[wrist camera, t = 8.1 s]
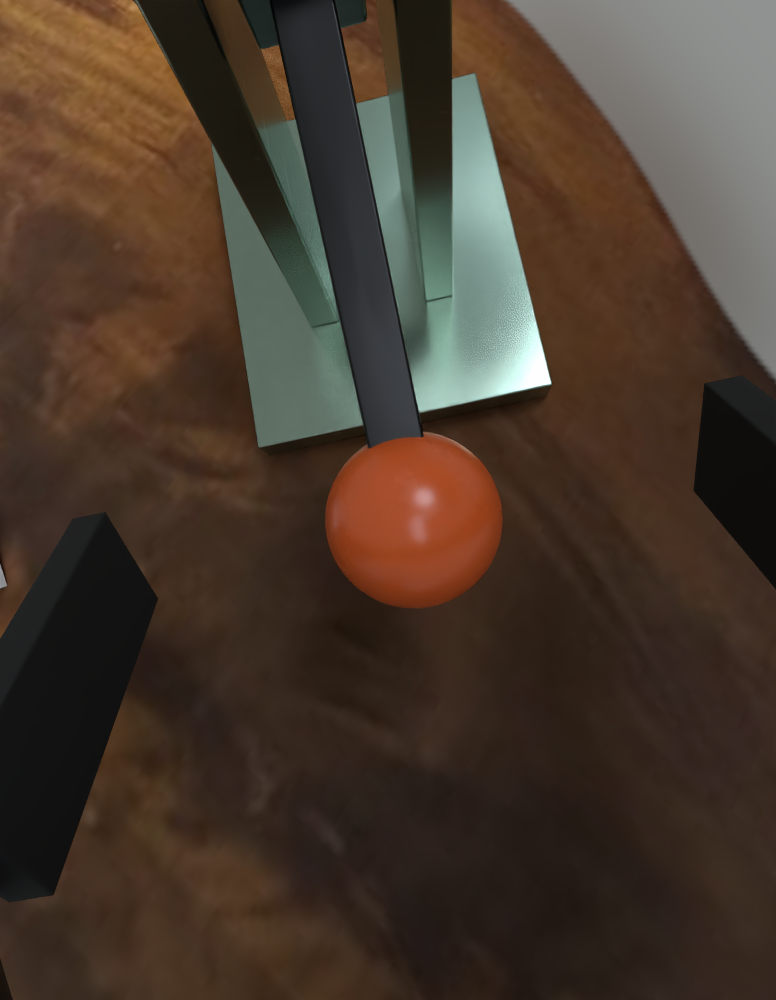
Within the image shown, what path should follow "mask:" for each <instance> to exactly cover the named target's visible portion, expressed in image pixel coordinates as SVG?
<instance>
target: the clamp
mask: <svg viewBox="0 0 776 1000" xmlns="http://www.w3.org/2000/svg"><path fill="white" fill-rule="evenodd" d="M133 1H134V2H135V3H136V4H137V6H138V8H139V10H140V11H141V13H142V15H143V17H144V19H145V21H146V22H147V24H148V26H149V28H150V30H151V32H152V34H153V35H154V37H155V39H156V41H157V43H158V45H159V47H160V48H161V50H162V52H163V54H164V56H165V58H166V59H167V61H168V63H169V65H170V67H171V69H172V71H173V72H174V74H175V76H176V78H177V80H178V82H179V83H180V85H181V87H182V89H183V91H184V93H185V95H186V96H187V98H188V100H189V102H190V104H191V106H192V108H193V109H194V111H195V113H196V115H197V117H198V119H199V120H200V122H201V124H202V126H203V128H204V130H205V132H206V133H207V135H208V137H209V139H210V141H211V146H212V153H213V159H214V166H215V172H216V178H217V185H218V191H219V198H220V204H221V211H222V217H223V224H224V230H225V236H226V243H227V249H228V256H229V262H230V269H231V275H232V282H233V288H234V294H235V301H236V307H237V314H238V320H239V327H240V333H241V340H242V346H243V352H244V359H245V365H246V372H247V378H248V385H249V391H250V398H251V404H252V410H253V417H254V423H255V430H256V436H257V443H258V447H259V448H260V449H261V450H262V451H264V452H265V453H266V454H268V455H273V454H278V453H283V452H287V451H292V450H297V449H301V448H306V447H311V446H315V445H320V444H325V443H329V442H334V441H339V440H344V439H348V438H353V437H358V436H362V435H365V431H364V427H363V422H362V418H361V413H360V409H359V404H358V400H357V395H356V391H355V386H354V382H353V377H352V373H351V368H350V364H349V359H348V355H347V350H346V346H345V341H344V337H343V332H342V328H341V323H340V318H339V314H338V309H337V305H336V300H335V296H334V291H333V287H332V282H331V278H330V273H329V269H328V264H327V260H326V255H325V251H324V246H323V242H322V237H321V233H320V228H319V224H318V219H317V215H316V210H315V206H314V201H313V196H312V192H311V187H310V183H309V178H308V174H307V169H306V165H305V160H304V156H303V151H302V147H301V142H300V138H299V133H298V129H297V124H296V120H295V119H293V120H289V121H286V118H285V115H284V113H283V110H282V107H281V104H280V101H279V99H278V96H277V93H276V90H275V88H274V85H273V82H272V79H271V76H270V74H269V71H268V68H267V65H266V62H265V60H264V57H263V54H262V51H261V48H260V47H259V46H258V44H257V42H256V40H255V38H254V35H253V33H252V31H251V29H250V27H249V24H248V22H247V20H246V18H245V16H244V13H243V11H242V9H241V7H240V5H239V2H238V0H133ZM375 1H376V8H377V16H378V23H379V31H380V38H381V45H382V53H383V60H384V68H385V75H386V83H387V90H388V95H386V96H382V97H379V98H375V99H371V100H367V101H363V102H359V103H356V105H357V110H358V115H359V120H360V125H361V130H362V135H363V140H364V145H365V150H366V154H367V159H368V164H369V169H370V174H371V179H372V184H373V189H374V194H375V199H376V204H377V208H378V213H379V218H380V223H381V228H382V233H383V238H384V243H385V248H386V253H387V258H388V262H389V267H390V272H391V277H392V282H393V287H394V292H395V297H396V302H397V307H398V311H399V316H400V321H401V326H402V331H403V336H404V341H405V346H406V351H407V356H408V361H409V365H410V370H411V375H412V380H413V385H414V390H415V395H416V400H417V405H418V410H419V415H420V419H421V423H423V422H428V421H433V420H437V419H442V418H447V417H451V416H456V415H461V414H465V413H470V412H475V411H480V410H484V409H489V408H494V407H498V406H503V405H508V404H512V403H517V402H522V401H526V400H531V399H536V398H540V397H545V396H547V395H548V393H549V391H550V389H551V386H552V380H551V376H550V372H549V368H548V364H547V359H546V355H545V351H544V347H543V343H542V339H541V335H540V331H539V327H538V323H537V319H536V315H535V311H534V307H533V302H532V298H531V294H530V290H529V286H528V282H527V278H526V274H525V270H524V266H523V262H522V258H521V254H520V250H519V246H518V241H517V237H516V233H515V229H514V225H513V221H512V217H511V213H510V209H509V205H508V201H507V197H506V193H505V189H504V185H503V180H502V176H501V172H500V168H499V164H498V160H497V156H496V152H495V148H494V144H493V140H492V136H491V132H490V128H489V124H488V119H487V115H486V111H485V107H484V103H483V99H482V95H481V91H480V87H479V83H478V79H477V75H476V73H472V74H468V75H464V76H460V77H456V78H452V0H375Z"/></svg>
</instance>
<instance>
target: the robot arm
mask: <svg viewBox="0 0 776 1000" xmlns="http://www.w3.org/2000/svg"><path fill="white" fill-rule="evenodd" d="M694 492H695V493H696V494H697V495H698V496H699V498H700V499H701V500H702V501H703V502H704V504H705V505H706V506H707V507H708V508H709V510H710V511H711V512H712V513H713V514H714V516H715V517H716V518H717V519H718V520H719V522H720V523H721V524H722V525H723V526H724V528H725V529H726V530H727V531H728V532H729V534H730V535H731V536H732V537H733V538H734V540H735V541H736V542H737V543H738V544H739V546H740V547H741V548H742V549H743V550H744V552H745V553H746V554H747V555H748V556H749V558H750V559H751V560H752V561H753V562H754V564H755V565H756V566H757V567H758V568H759V570H760V571H761V572H762V573H763V574H764V576H765V577H766V578H767V579H768V580H769V582H770V583H771V584H772V585H773V586H774V587H775V589H776V401H775V400H774V399H773V398H771V397H770V396H769V395H767V394H766V393H765V392H763V391H762V390H761V389H760V388H758V387H757V386H756V385H754V384H753V383H752V382H750V381H749V380H748V379H746V378H745V377H744V376H743V375H742V376H738V377H733V378H728V379H724V380H719V381H714V382H710V383H705V384H704V394H703V404H702V414H701V423H700V433H699V443H698V452H697V462H696V472H695V482H694ZM157 600H158V598H157V596H156V594H155V593H154V591H153V590H152V588H151V586H150V585H149V583H148V581H147V580H146V578H145V577H144V575H143V573H142V572H141V570H140V568H139V567H138V565H137V563H136V562H135V560H134V559H133V557H132V555H131V554H130V552H129V550H128V549H127V547H126V545H125V544H124V542H123V541H122V539H121V537H120V536H119V534H118V532H117V531H116V529H115V527H114V526H113V524H112V523H111V521H110V519H109V518H108V516H107V514H106V513H105V512H104V513H99V514H94V515H90V516H85V517H80V518H76V519H73V520H72V521H71V523H70V525H69V526H68V528H67V529H66V531H65V533H64V534H63V536H62V538H61V539H60V541H59V543H58V544H57V546H56V548H55V549H54V551H53V553H52V554H51V556H50V558H49V559H48V561H47V562H46V564H45V566H44V567H43V569H42V571H41V572H40V574H39V576H38V577H37V579H36V581H35V582H34V584H33V586H32V587H31V589H30V591H29V592H28V594H27V595H26V597H25V599H24V600H23V602H22V604H21V605H20V607H19V609H18V610H17V612H16V614H15V615H14V617H13V619H12V620H11V622H10V624H9V625H8V627H7V628H6V630H5V632H4V633H3V635H2V637H1V638H0V897H2V898H3V899H5V900H6V901H7V902H14V901H20V900H26V899H32V898H38V897H45V896H51V895H54V892H55V889H56V887H57V884H58V881H59V878H60V875H61V872H62V870H63V867H64V864H65V861H66V858H67V855H68V853H69V850H70V847H71V844H72V841H73V838H74V836H75V833H76V830H77V827H78V824H79V821H80V819H81V816H82V813H83V810H84V807H85V804H86V802H87V799H88V796H89V793H90V790H91V787H92V785H93V782H94V779H95V776H96V773H97V770H98V768H99V765H100V762H101V759H102V756H103V753H104V751H105V748H106V745H107V742H108V739H109V736H110V734H111V731H112V728H113V725H114V722H115V719H116V717H117V714H118V711H119V708H120V705H121V702H122V700H123V697H124V694H125V691H126V688H127V685H128V683H129V680H130V677H131V674H132V671H133V668H134V666H135V663H136V660H137V657H138V654H139V651H140V649H141V646H142V643H143V640H144V637H145V634H146V632H147V629H148V626H149V623H150V620H151V617H152V615H153V612H154V609H155V606H156V603H157ZM0 1000H13V999H12V996H11V993H10V989H9V986H8V983H7V980H6V976H5V973H4V970H3V966H2V963H1V960H0Z"/></svg>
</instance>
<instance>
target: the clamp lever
mask: <svg viewBox="0 0 776 1000" xmlns="http://www.w3.org/2000/svg"><path fill="white" fill-rule="evenodd" d="M238 2H239V5H240V7H241V9H242V11H243V13H244V16H245V18H246V20H247V22H248V24H249V27H250V29H251V31H252V33H253V35H254V38H255V40H256V42H257V44H258V46H259V47H260V48H261V49H265V48H269V47H273V46H276V45H279V47H280V52H281V56H282V61H283V65H284V70H285V74H286V79H287V83H288V88H289V93H290V97H291V102H292V106H293V111H294V115H295V120H296V124H297V129H298V133H299V138H300V142H301V147H302V151H303V156H304V160H305V165H306V169H307V174H308V178H309V183H310V187H311V192H312V196H313V201H314V206H315V210H316V215H317V219H318V224H319V228H320V233H321V237H322V242H323V246H324V251H325V255H326V260H327V264H328V269H329V273H330V278H331V282H332V287H333V291H334V296H335V300H336V305H337V309H338V314H339V318H340V323H341V328H342V332H343V337H344V341H345V346H346V350H347V355H348V359H349V364H350V368H351V373H352V377H353V382H354V386H355V391H356V395H357V400H358V404H359V409H360V413H361V418H362V422H363V427H364V431H365V436H366V440H367V445H365V446H364V447H362V448H361V449H360V450H358V451H357V452H356V453H355V454H354V455H353V456H352V457H351V458H350V459H349V460H348V461H347V462H346V463H345V464H344V466H343V467H342V468H341V470H340V471H339V473H338V475H337V476H336V478H335V480H334V482H333V485H332V487H331V490H330V492H329V496H328V500H327V504H326V512H325V528H326V534H327V540H328V543H329V547H330V550H331V553H332V555H333V557H334V559H335V561H336V563H337V565H338V566H339V568H340V570H341V571H342V572H343V574H344V575H345V576H346V577H347V579H348V580H349V581H350V582H351V583H352V584H353V585H355V586H356V587H357V588H358V589H359V590H361V591H362V592H364V593H365V594H366V595H368V596H370V597H372V598H373V599H375V600H377V601H380V602H382V603H385V604H388V605H392V606H396V607H401V608H427V607H433V606H436V605H440V604H443V603H446V602H448V601H451V600H453V599H455V598H456V597H458V596H460V595H462V594H463V593H464V592H466V591H467V590H469V589H470V588H471V587H472V586H473V585H474V584H476V583H477V582H478V581H479V580H480V578H481V577H482V576H483V575H484V574H485V572H486V571H487V569H488V568H489V566H490V565H491V563H492V561H493V559H494V557H495V555H496V552H497V549H498V546H499V543H500V539H501V533H502V524H503V514H502V505H501V501H500V497H499V493H498V490H497V488H496V486H495V483H494V481H493V479H492V477H491V475H490V474H489V472H488V470H487V469H486V467H485V466H484V465H483V464H482V462H481V461H480V460H479V459H478V458H477V457H476V456H475V455H474V454H473V453H472V452H471V451H469V450H468V449H467V448H465V447H464V446H462V445H461V444H459V443H457V442H455V441H454V440H451V439H449V438H446V437H444V436H441V435H438V434H434V433H430V432H423V429H422V424H421V419H420V415H419V410H418V405H417V400H416V395H415V390H414V385H413V380H412V375H411V370H410V365H409V361H408V356H407V351H406V346H405V341H404V336H403V331H402V326H401V321H400V316H399V311H398V307H397V302H396V297H395V292H394V287H393V282H392V277H391V272H390V267H389V262H388V258H387V253H386V248H385V243H384V238H383V233H382V228H381V223H380V218H379V213H378V208H377V204H376V199H375V194H374V189H373V184H372V179H371V174H370V169H369V164H368V159H367V154H366V150H365V145H364V140H363V135H362V130H361V125H360V120H359V115H358V110H357V105H356V101H355V96H354V91H353V86H352V81H351V76H350V71H349V66H348V61H347V56H346V51H345V47H344V42H343V37H342V32H341V28H344V27H347V26H351V25H355V24H359V23H362V22H364V21H366V19H367V10H366V2H365V0H238Z"/></svg>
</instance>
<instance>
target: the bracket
mask: <svg viewBox="0 0 776 1000" xmlns="http://www.w3.org/2000/svg"><path fill="white" fill-rule="evenodd" d="M6 586H7V584H6V580H5V577H4V574H3V571H2V568H1V565H0V588H3V587H6Z"/></svg>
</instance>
